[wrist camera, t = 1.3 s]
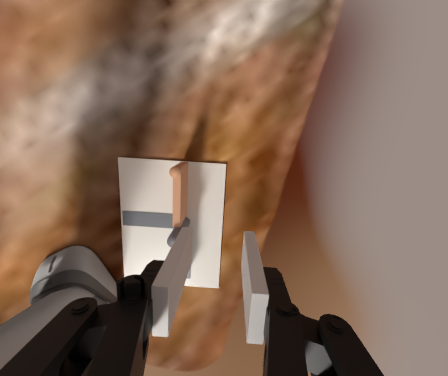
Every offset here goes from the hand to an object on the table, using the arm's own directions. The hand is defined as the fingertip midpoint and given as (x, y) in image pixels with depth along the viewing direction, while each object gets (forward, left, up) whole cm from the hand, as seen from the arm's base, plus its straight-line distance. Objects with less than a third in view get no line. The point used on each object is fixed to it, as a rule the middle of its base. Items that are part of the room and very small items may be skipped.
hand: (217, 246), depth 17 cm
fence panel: (0, -6, -18) cm, 19 cm away
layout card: (+7, -8, -19) cm, 21 cm away
